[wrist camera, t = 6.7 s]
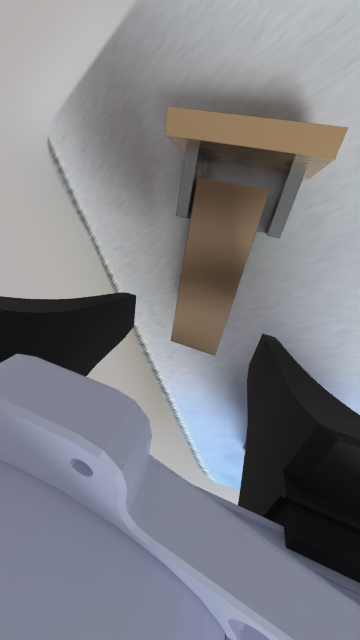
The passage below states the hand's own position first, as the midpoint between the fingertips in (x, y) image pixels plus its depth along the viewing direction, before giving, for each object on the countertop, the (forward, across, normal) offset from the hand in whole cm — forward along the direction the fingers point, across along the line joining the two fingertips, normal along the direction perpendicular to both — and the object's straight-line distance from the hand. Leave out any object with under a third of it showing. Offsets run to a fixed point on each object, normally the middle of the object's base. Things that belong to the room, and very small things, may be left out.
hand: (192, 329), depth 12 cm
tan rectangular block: (+9, 0, -2) cm, 10 cm away
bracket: (+10, 0, -8) cm, 13 cm away
